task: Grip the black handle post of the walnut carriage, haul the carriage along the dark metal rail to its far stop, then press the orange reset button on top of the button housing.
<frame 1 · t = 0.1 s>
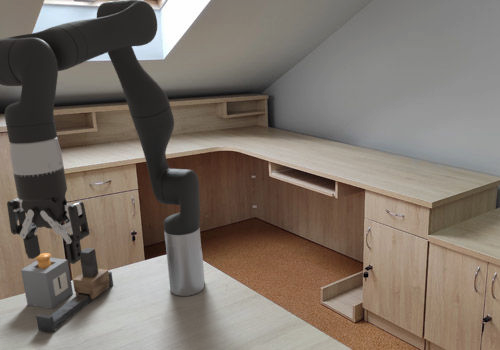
hand: (54, 259, 81), 29 cm above the table, tool pointing down, fingers open, 8 cm apart
reset button: (44, 265, 124), point 10 cm above the table, slide at 0.0 cm
rail: (79, 306, 122), on the table
button housing: (50, 299, 127), on the table
carriage: (90, 271, 126), point 7 cm above the table, slide at 0.0 cm
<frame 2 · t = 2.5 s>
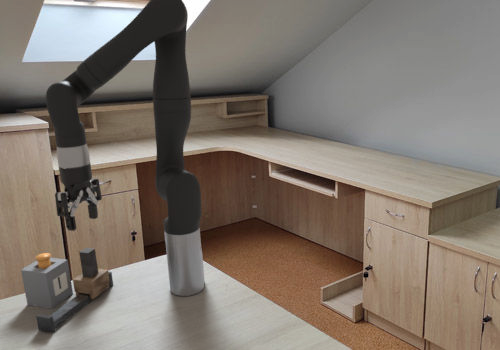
hand: (83, 224, 122), 20 cm above the table, tool pointing down, fingers open, 8 cm apart
nothing on the table moved.
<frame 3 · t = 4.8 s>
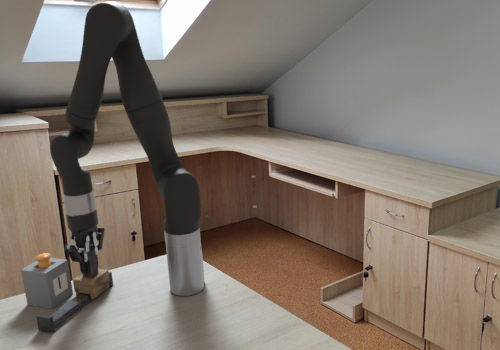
hand: (90, 270, 126), 7 cm above the table, tool pointing down, fingers closed on carriage, 3 cm apart
carriage: (90, 271, 126), point 7 cm above the table, slide at 0.0 cm, touching gripper
everything else where it was.
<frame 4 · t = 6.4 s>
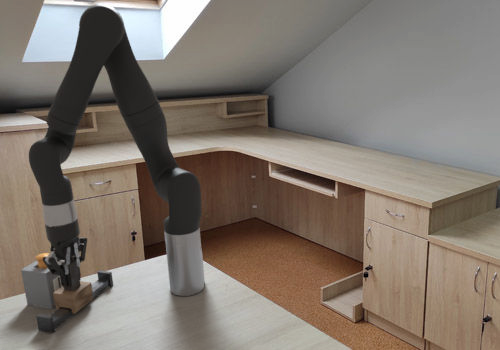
hand: (71, 283, 119), 7 cm above the table, tool pointing down, fingers closed on carriage, 3 cm apart
carriage: (71, 283, 119), point 7 cm above the table, slide at 7.3 cm, touching gripper
everything else where it was.
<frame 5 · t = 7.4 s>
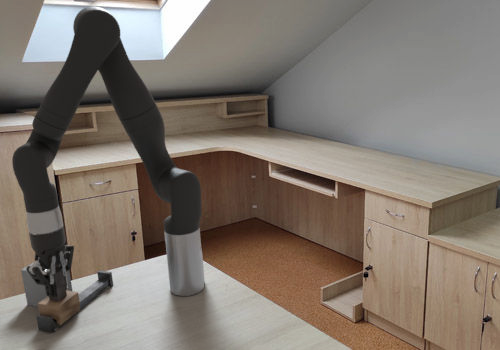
hand: (57, 293, 115), 7 cm above the table, tool pointing down, fingers closed on carriage, 3 cm apart
carriage: (57, 293, 115), point 7 cm above the table, slide at 12.3 cm, touching gripper
everything else where it was.
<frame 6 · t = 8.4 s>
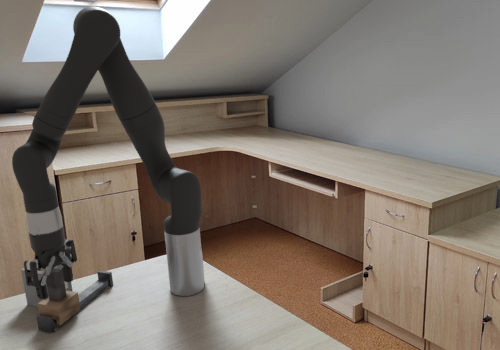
hand: (56, 289, 114), 8 cm above the table, tool pointing down, fingers open, 8 cm apart
carriage: (57, 294, 115), point 7 cm above the table, slide at 12.4 cm
everything else where it was.
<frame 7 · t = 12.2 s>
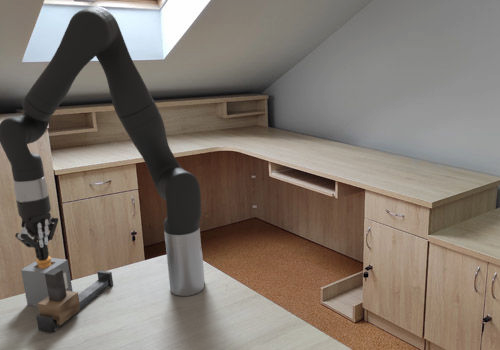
hand: (43, 259, 123), 12 cm above the table, tool pointing down, fingers closed
reset button: (45, 268, 124), point 9 cm above the table, slide at 0.9 cm, touching gripper
everything else where it was.
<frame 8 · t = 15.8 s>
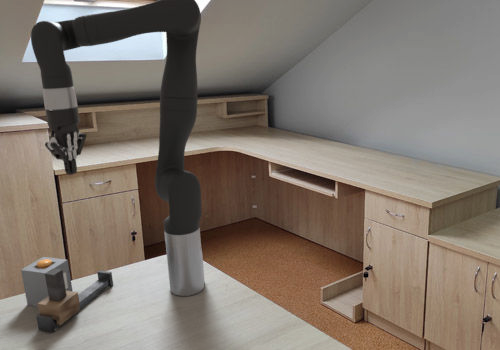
hand: (71, 173, 122), 33 cm above the table, tool pointing down, fingers closed
reset button: (45, 271, 125), point 8 cm above the table, slide at 1.7 cm
everything else where it was.
at the end: carriage slide at 12.4 cm; reset button slide at 1.7 cm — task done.
